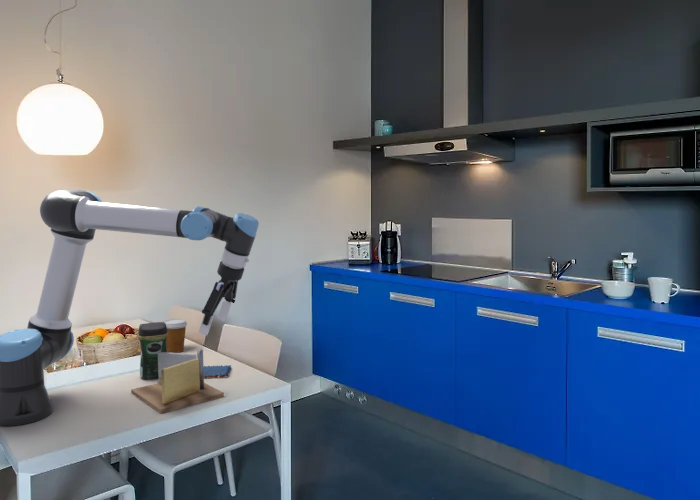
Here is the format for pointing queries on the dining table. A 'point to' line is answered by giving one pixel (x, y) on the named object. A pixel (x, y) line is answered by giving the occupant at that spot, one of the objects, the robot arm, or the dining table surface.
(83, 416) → the dining table surface
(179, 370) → the panel
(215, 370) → the woven mat
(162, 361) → the steel leaf and pin
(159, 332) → the coffee jar
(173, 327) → the disposable coffee cup
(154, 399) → the walnut board
